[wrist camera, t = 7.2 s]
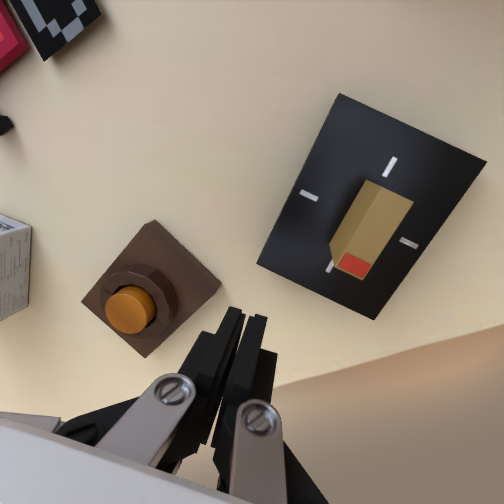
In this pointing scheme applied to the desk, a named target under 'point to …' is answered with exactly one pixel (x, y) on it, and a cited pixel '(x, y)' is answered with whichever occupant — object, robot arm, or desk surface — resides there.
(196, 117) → the desk surface
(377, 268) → the panel
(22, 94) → the desk surface
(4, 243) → the light bulb box
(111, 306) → the button
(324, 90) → the desk surface
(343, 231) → the dimmer knob
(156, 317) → the switch block
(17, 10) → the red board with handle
